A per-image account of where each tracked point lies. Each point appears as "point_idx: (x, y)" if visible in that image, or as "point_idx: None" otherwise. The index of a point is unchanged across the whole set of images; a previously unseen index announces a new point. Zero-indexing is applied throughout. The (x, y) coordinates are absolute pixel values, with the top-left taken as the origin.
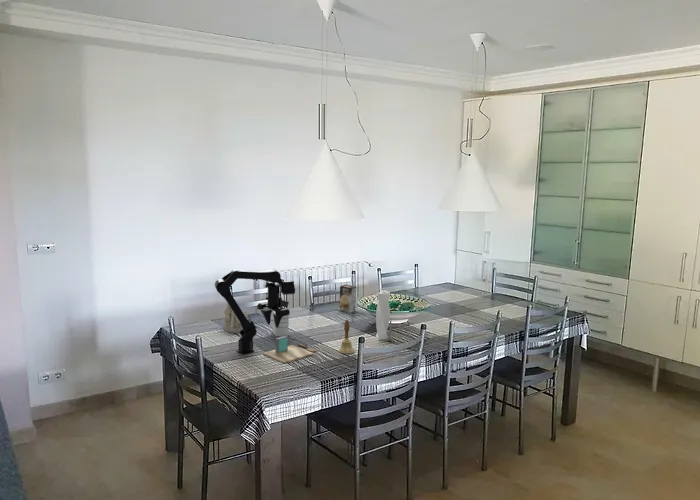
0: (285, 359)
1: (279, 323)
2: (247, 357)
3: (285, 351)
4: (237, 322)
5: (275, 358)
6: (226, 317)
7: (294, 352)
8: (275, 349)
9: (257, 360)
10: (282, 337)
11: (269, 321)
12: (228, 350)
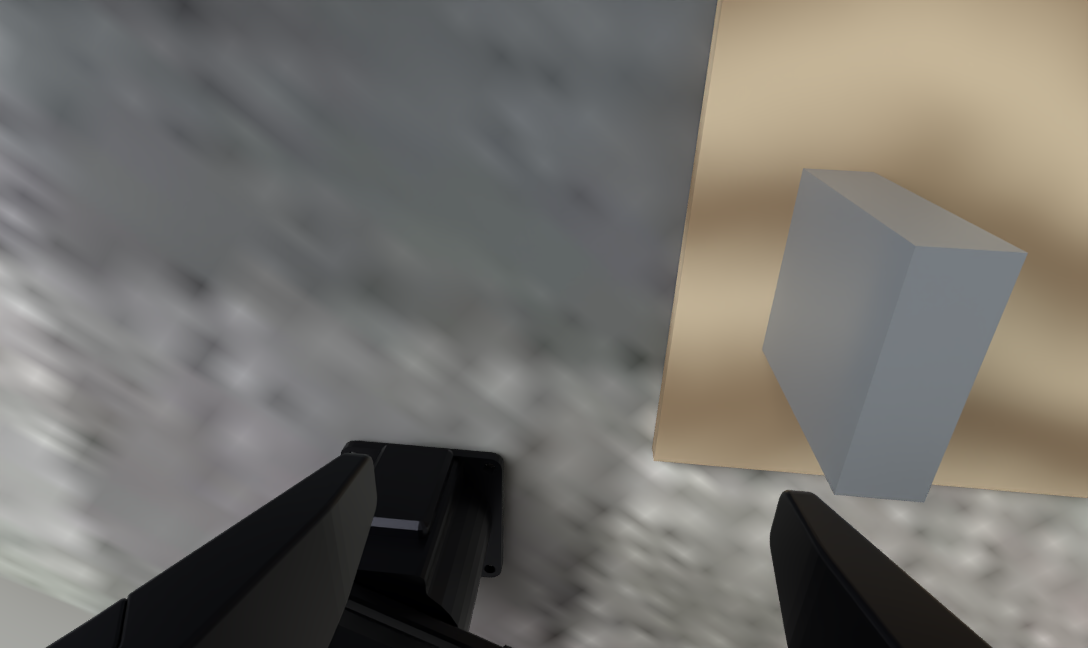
0: (1067, 443)
1: (921, 589)
2: (593, 589)
3: None
4: None
5: None
6: None
7: (1041, 157)
8: (683, 277)
9: (739, 584)
10: (932, 375)
11: (335, 542)
12: None
